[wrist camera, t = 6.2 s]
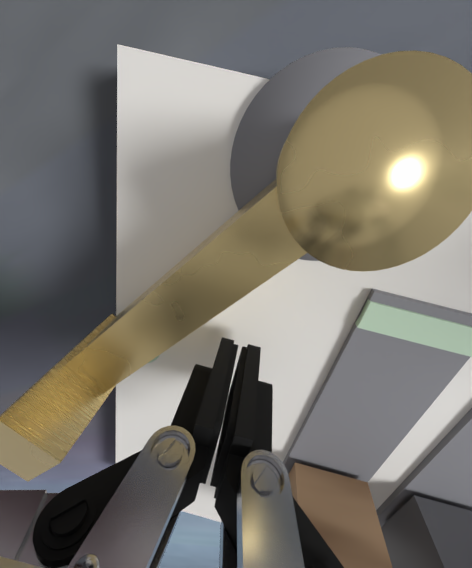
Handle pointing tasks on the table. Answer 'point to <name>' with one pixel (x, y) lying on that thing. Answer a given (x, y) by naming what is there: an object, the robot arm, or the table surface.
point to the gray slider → (429, 535)
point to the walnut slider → (341, 515)
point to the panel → (289, 291)
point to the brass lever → (284, 232)
